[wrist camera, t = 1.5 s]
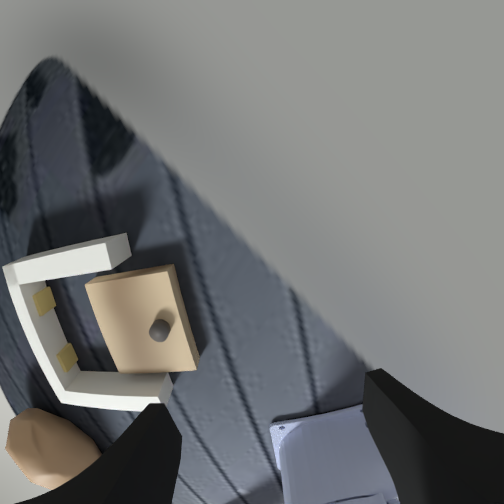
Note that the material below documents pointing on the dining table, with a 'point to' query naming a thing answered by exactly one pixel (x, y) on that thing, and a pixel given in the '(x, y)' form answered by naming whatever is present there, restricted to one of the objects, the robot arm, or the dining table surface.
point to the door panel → (144, 320)
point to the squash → (49, 447)
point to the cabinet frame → (52, 337)
